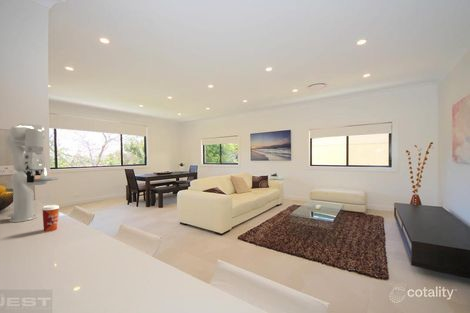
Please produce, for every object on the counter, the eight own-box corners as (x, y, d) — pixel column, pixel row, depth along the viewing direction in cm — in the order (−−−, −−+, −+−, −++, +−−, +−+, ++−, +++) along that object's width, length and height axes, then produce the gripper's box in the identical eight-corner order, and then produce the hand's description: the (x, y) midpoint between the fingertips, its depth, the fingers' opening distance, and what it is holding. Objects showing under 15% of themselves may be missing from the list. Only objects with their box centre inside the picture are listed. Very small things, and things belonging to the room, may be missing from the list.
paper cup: (50, 232, 116) (51, 208, 116) (37, 232, 116) (37, 207, 116) (62, 227, 124) (63, 204, 124) (50, 227, 124) (50, 204, 124)
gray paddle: (61, 178, 125) (61, 174, 125) (49, 181, 115) (49, 176, 115) (37, 178, 123) (37, 174, 123) (22, 181, 113) (22, 176, 113)
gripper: (29, 150, 110) (28, 184, 110) (52, 150, 127) (51, 180, 127) (13, 149, 109) (12, 184, 109) (38, 150, 126) (38, 179, 126)
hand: (33, 181), depth 118 cm, fingers closed on gray paddle, 3 cm apart
